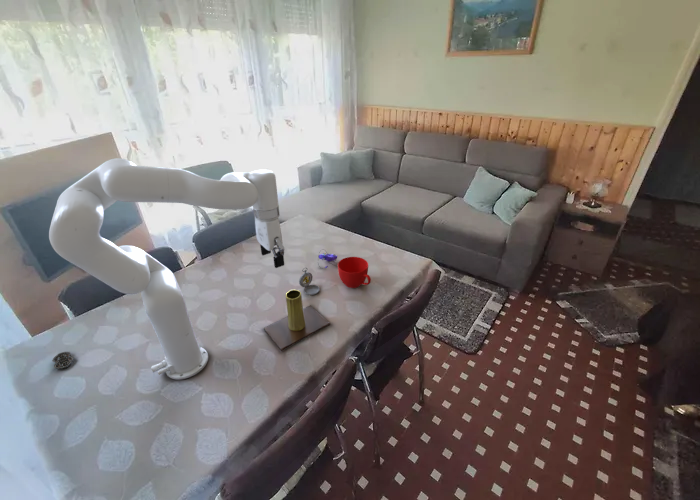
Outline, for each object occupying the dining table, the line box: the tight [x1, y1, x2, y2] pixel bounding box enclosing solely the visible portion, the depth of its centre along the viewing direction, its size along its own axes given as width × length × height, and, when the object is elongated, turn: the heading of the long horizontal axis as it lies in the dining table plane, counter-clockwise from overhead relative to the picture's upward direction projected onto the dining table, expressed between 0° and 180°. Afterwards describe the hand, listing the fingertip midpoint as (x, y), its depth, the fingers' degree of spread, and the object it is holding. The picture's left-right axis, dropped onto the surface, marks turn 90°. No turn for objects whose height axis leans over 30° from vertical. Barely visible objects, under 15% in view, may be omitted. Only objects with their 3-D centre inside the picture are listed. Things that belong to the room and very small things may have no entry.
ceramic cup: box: [337, 256, 372, 289], centre depth 137 cm, size 13×17×10 cm
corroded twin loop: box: [51, 351, 74, 370], centre depth 104 cm, size 5×8×1 cm, turn 49°
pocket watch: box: [298, 267, 320, 296], centre depth 135 cm, size 8×8×10 cm
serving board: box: [263, 304, 330, 352], centre depth 118 cm, size 20×13×1 cm, turn 129°
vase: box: [285, 289, 305, 331], centre depth 114 cm, size 6×6×14 cm
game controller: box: [317, 248, 338, 269], centre depth 154 cm, size 10×8×10 cm
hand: (272, 260), depth 106 cm, fingers open, 9 cm apart
